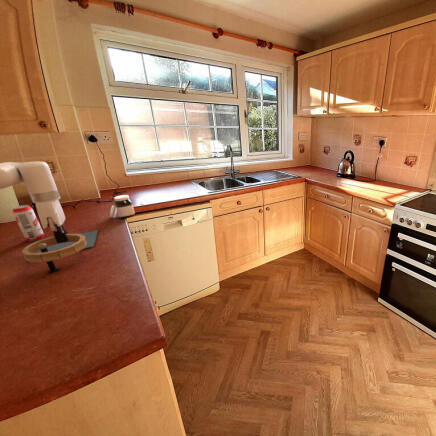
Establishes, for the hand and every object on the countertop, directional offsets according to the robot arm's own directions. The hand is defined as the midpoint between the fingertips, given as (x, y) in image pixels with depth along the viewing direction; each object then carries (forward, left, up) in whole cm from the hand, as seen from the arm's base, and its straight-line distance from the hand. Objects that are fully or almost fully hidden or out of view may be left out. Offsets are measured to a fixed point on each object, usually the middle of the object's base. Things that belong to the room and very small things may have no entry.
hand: (63, 240), depth 96 cm
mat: (-3, +12, -6) cm, 14 cm away
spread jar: (+17, +38, -7) cm, 43 cm away
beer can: (-17, +28, -7) cm, 33 cm away
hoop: (0, -8, -1) cm, 8 cm away
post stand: (-3, -12, -6) cm, 14 cm away
